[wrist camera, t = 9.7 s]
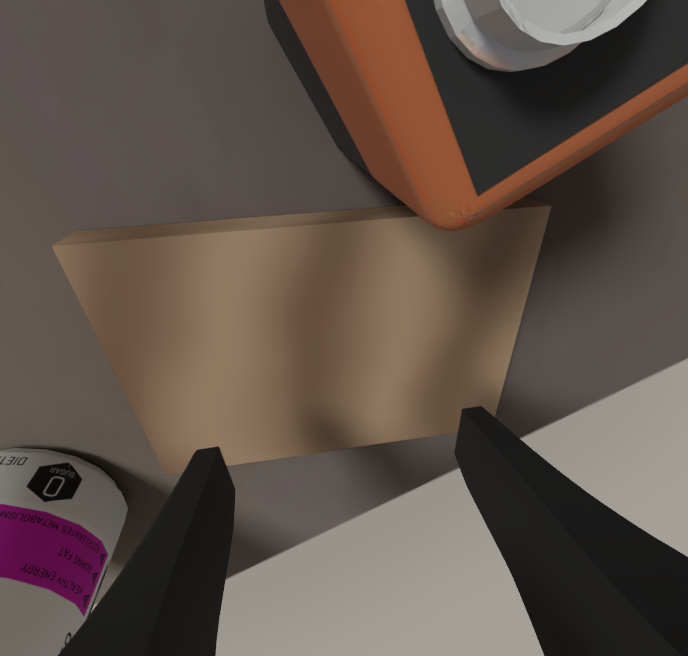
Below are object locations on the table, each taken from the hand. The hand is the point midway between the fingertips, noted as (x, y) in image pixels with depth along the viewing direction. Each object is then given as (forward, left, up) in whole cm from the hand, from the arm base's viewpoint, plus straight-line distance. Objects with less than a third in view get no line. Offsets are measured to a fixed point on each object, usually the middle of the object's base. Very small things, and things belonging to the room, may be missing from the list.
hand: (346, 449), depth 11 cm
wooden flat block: (0, 0, -6) cm, 6 cm away
